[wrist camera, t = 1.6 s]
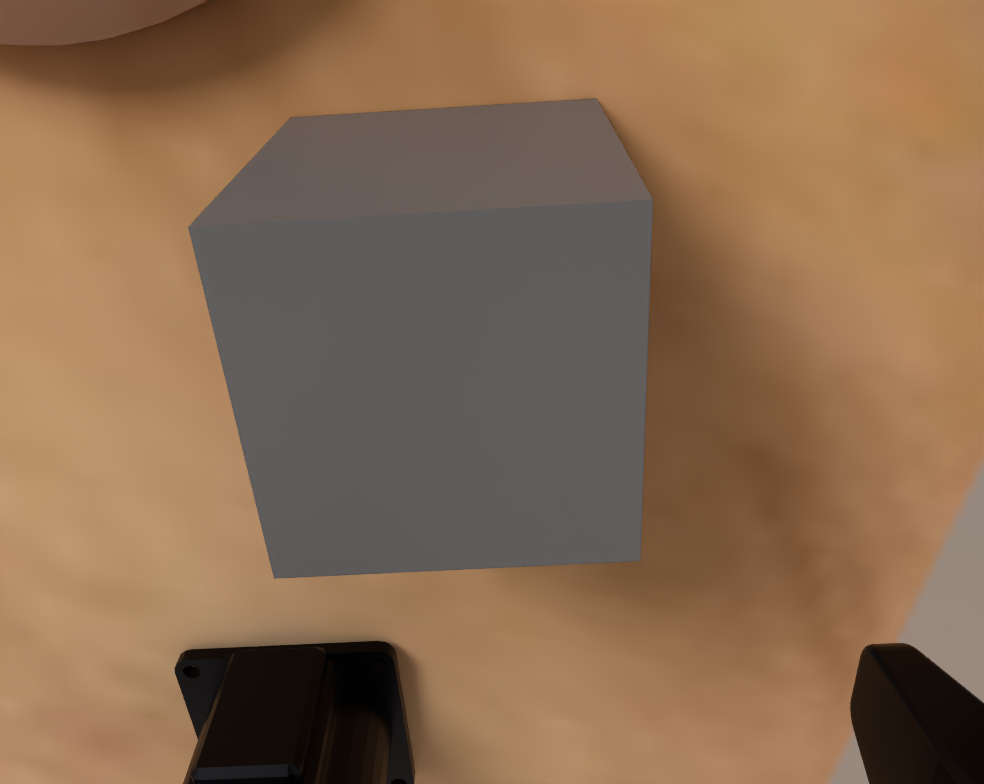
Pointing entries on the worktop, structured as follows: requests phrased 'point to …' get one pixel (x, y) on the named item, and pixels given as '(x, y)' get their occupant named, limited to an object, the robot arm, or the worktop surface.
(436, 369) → the matte slate cube
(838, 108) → the worktop surface
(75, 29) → the peach round platter
